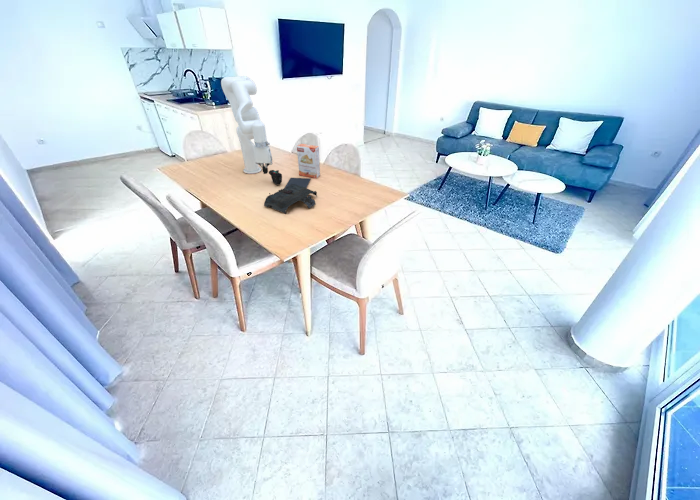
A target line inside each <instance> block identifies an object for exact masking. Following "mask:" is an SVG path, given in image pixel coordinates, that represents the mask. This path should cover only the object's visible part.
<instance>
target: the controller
mask: <svg viewBox="0 0 700 500" xmlns="http://www.w3.org/2000/svg"><path fill="white" fill-rule="evenodd" d="M268 174H269V175H270V177H271V181H272V182H273V184H274V185H275V186H279V185H281V184H282V182H283V174H282V173H281V172H280V170H279V169H276V170H274V169H271V170H268Z"/></svg>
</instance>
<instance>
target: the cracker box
mask: <svg viewBox="0 0 700 500" xmlns="http://www.w3.org/2000/svg"><path fill="white" fill-rule="evenodd" d="M296 153H297V164H298V165H297V166H298V175H299V176H303V177H306V178H311V179H312V178H313V179H317V178H319V177H320V176H321V165H320V163H321V162H320V161H321V160H320V146H319V145H312V144H305V143H299V144H298V145H296Z"/></svg>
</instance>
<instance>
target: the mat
mask: <svg viewBox="0 0 700 500" xmlns="http://www.w3.org/2000/svg"><path fill="white" fill-rule="evenodd" d="M311 180H312V178H311V177H306V178H305V177H290V178H289V179H288V182H287V183H286V185H285V186H284V188H286V187H288V186H290V185H291V184H295V185H299V186H302V187H305V188H307V189H308V187H309V185H310V182H311Z"/></svg>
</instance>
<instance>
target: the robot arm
mask: <svg viewBox="0 0 700 500" xmlns="http://www.w3.org/2000/svg"><path fill="white" fill-rule="evenodd" d="M220 85H221V89H222V92H223V94H224V95H225V97H226V99H227V100H228V102H229V106H230V108H231V112H232V114H233V118H234V120H235V122H236V123H237V125H238V126H237V127H236V135H237V138H238V140H239V144H240V149H241V154H242V159H243V165H244V168H243V169H242V170H243V171H242V172H243V173H244V174H249V175H252V174H258V173H260V172H262V173H263V175H267V174H269V168H268V167H269V166H272V165H273V155H272V150H271V148H270V142H268V140H267V139H268V137H267V132H266V126H265V123H264V122H263V121H261V117H260V115H259V114H260V113H259V112H258V110H257V108H256V107H255V106H253V105H254V104H253V101H252V97H251V96H255V95H256V94H257V92H258V89H257V86H256V83H255V81H254V80H252V79H251V78H250V77H249V76H245V75H238V76H237V75H236V76H225V77H223V78H222V79H221V80H220ZM252 140H253V141H254V142H253V141H252Z"/></svg>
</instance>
